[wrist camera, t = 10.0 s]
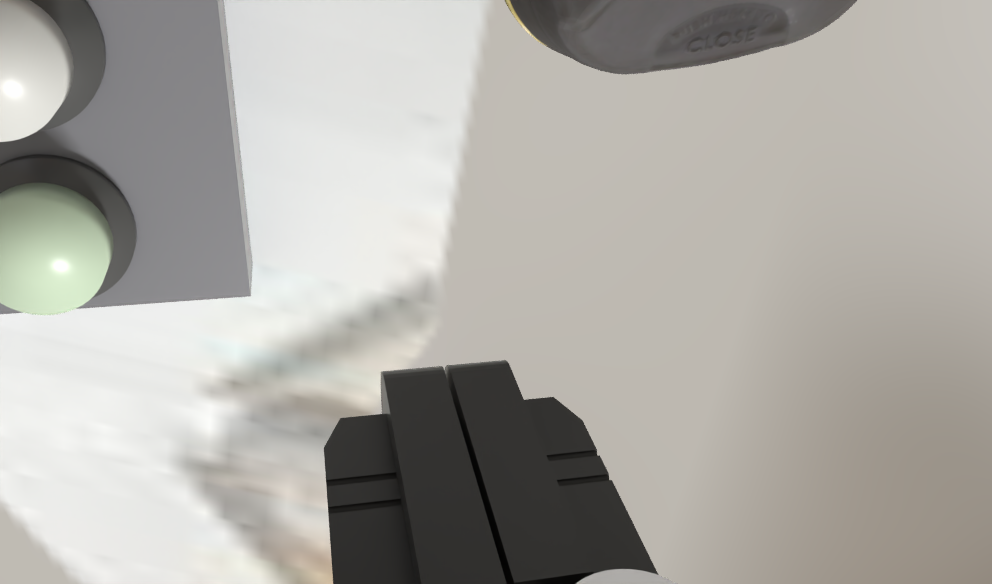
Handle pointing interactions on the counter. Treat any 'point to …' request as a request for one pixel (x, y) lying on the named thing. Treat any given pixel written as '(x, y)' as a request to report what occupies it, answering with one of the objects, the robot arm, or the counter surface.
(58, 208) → the sage button
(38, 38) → the white button
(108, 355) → the counter surface
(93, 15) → the button panel
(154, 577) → the counter surface
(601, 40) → the coffee jar
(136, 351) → the counter surface
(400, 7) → the counter surface
